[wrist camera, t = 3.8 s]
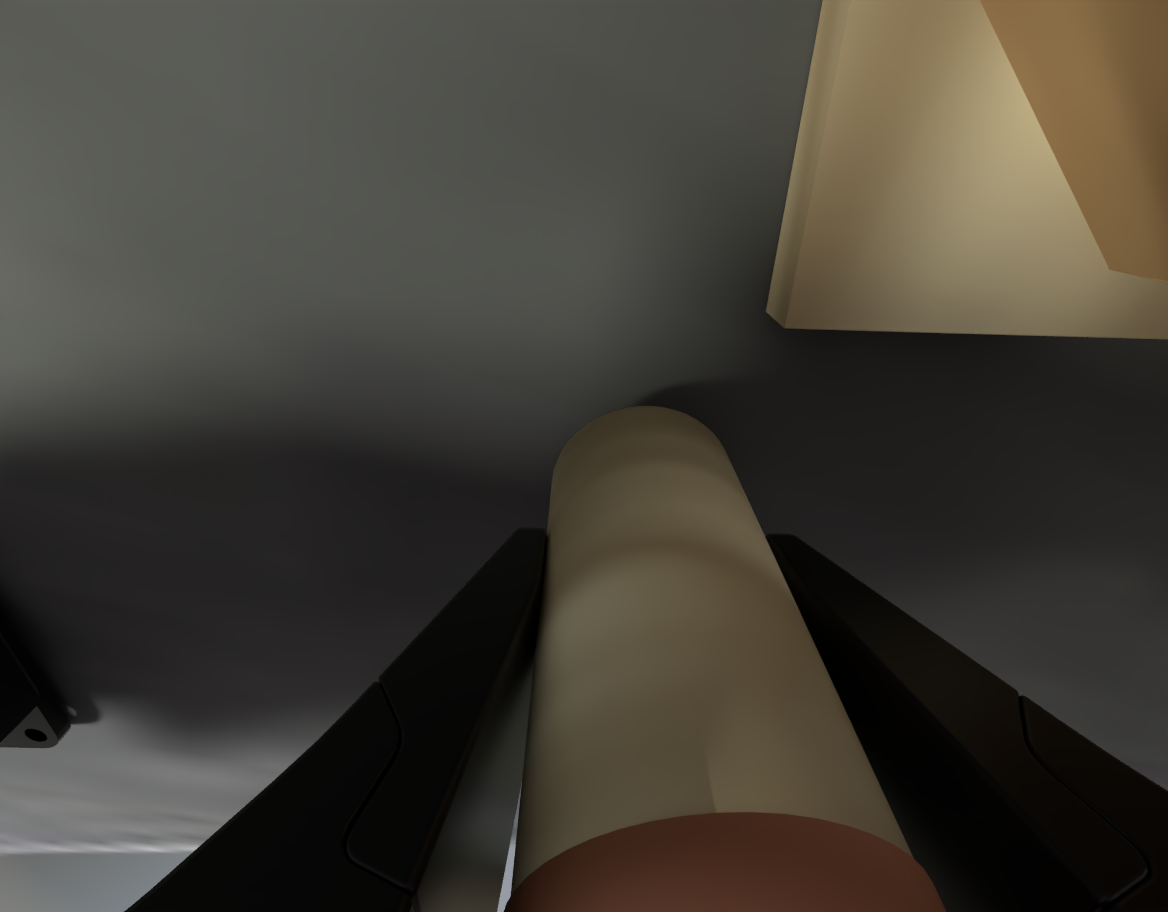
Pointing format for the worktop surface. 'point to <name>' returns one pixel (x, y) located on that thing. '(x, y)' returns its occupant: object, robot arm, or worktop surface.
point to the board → (937, 192)
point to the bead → (1101, 113)
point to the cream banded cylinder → (687, 704)
